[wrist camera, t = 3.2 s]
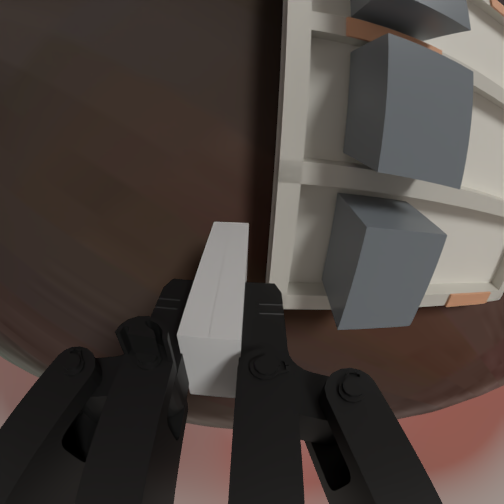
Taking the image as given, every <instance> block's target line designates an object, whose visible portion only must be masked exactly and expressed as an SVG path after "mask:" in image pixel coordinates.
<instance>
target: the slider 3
mask: <svg viewBox="0 0 504 504" xmlns="http://www.w3.org/2000/svg"><path fill="white" fill-rule="evenodd" d="M446 238H447V234H446V233H444V232H443V231H442V230H441V229H440V228H439V227H437V226H436V225H435V224H434V223H433V222H431V221H430V220H429V219H428V218H427V217H425V216H424V215H423V214H422V213H420V212H419V211H418V210H417V209H415V208H414V207H413V206H411V205H410V204H409V203H407V202H406V201H400V200H394V199H386V198H379V197H371V196H363V195H355V194H346V193H337V199H336V205H335V211H334V217H333V223H332V229H331V234H330V239H329V245H328V250H327V255H326V260H325V265H324V270H323V274H322V282H323V285H324V288H325V291H326V294H327V297H328V300H329V304H330V307H331V310H332V313H333V316H334V320H335V323H336V326H337V330H343V329H368V328H386V327H400V326H410V324H411V322H412V320H413V318H414V316H415V314H416V312H417V310H418V308H419V306H420V304H421V301H422V299H423V297H424V295H425V293H426V290H427V288H428V286H429V283H430V281H431V278H432V276H433V273H434V271H435V268H436V266H437V263H438V261H439V258H440V255H441V252H442V250H443V247H444V244H445V241H446Z"/></svg>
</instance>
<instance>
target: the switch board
mask: <svg viewBox="0 0 504 504" xmlns="http://www.w3.org/2000/svg"><path fill="white" fill-rule="evenodd" d="M466 2H467V7H468V13H469V20H470V27H471V30H470V31H465V32H459V33H454V34H450V35H445V36H441V37H437V38H433V39H429V40H425V41H421V40H418V39H416V38H414V37H411V36H409V35H406V34H403V33H401V32H398V31H395V30H392V29H389V28H387V27H383V26H380V25H377V24H374V23H371V22H367V21H363V20H360V19H356V18H352V17H351V6H350V0H283V16H282V40H281V62H280V82H279V100H278V117H277V134H276V149H275V164H274V179H273V193H272V206H271V220H270V232H269V245H268V257H267V269H266V283H275V285H276V286H277V287H278V289H279V290H280V291H281V293H282V301H283V309H312V310H331V307H330V304H329V300H328V297H327V294H326V291H325V288H324V285H323V282H322V274H323V270H324V265H325V260H326V255H327V250H328V245H329V239H330V234H331V229H332V223H333V217H334V211H335V205H336V199H337V193H346V194H355V195H363V196H371V197H379V198H386V199H394V200H400V201H406V202H407V203H409V204H410V205H411V206H413V207H414V208H415V209H417V210H418V211H419V212H420V213H422V214H423V215H424V216H425V217H427V218H428V219H429V220H430V221H431V222H433V223H434V224H435V225H436V226H437V227H439V228H440V229H441V230H442V231H443V232H444V233H446V234H447V238H446V241H445V244H444V247H443V250H442V252H441V255H440V258H439V261H438V263H437V266H436V268H435V271H434V273H433V276H432V278H431V281H430V283H429V286H428V288H427V290H426V293H425V295H424V297H423V299H422V301H421V304H420V306H419V307H428V306H442V305H445V306H446V307H453V306H464V305H474V304H483V303H486V302H487V301H494V300H500V298H501V296H502V294H503V292H504V6H503V5H502V4H501V3H500V2H498V1H497V0H466ZM387 33H390V34H393V35H396V36H399V37H401V38H404V39H407V40H409V41H412V42H414V43H417V44H419V45H422V46H424V47H426V48H428V49H431V50H433V51H435V52H437V53H439V54H441V55H443V56H445V57H447V58H449V59H451V60H453V61H455V62H457V63H459V64H461V65H463V66H464V67H466V68H468V69H470V70H471V71H473V107H472V120H471V129H470V138H469V145H468V151H467V158H466V163H465V169H464V174H463V179H462V183H461V188H460V189H456V188H452V187H448V186H444V185H440V184H435V183H431V182H426V181H422V180H417V179H412V178H407V177H402V176H397V175H391V174H385V173H379V172H376V171H375V170H373V169H371V168H370V167H368V166H366V165H365V164H363V163H361V162H359V161H358V160H356V159H354V158H352V157H350V156H349V155H347V154H345V153H343V147H344V138H345V129H346V118H347V107H348V93H349V76H350V52H352V51H353V50H355V49H357V48H359V47H361V46H363V45H365V44H367V43H369V42H371V41H373V40H375V39H377V38H379V37H381V36H383V35H385V34H387Z"/></svg>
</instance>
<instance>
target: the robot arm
mask: <svg viewBox="0 0 504 504" xmlns="http://www.w3.org/2000/svg"><path fill="white" fill-rule="evenodd" d="M248 234H249V223H234V222H214V224H213V227H212V229H211V232H210V235H209V238H208V241H207V243H206V246H205V249H204V252H203V255H202V258H201V261H200V264H199V267H198V270H197V273H196V276H195V279H194V280H182V279H173V280H172V281H170V282H169V283H168V284H167V285H166V286H165V287H164V288H163V290H162V292H161V295H160V297H159V299H158V301H157V304H156V307H155V308H154V310H153V313H152V315H151V317H149V316H138V317H135V318H132V319H128V320H127V321H125V322H124V323H122V324H121V325H120V326H119V327H118V329H117V330H116V331H115V333H116V335H117V338H118V340H119V343H120V345H121V347H122V350H123V352H124V355H121V356H116V357H106V358H95V357H94V355H93V353H92V352H91V351H89V350H88V349H87V348H83V347H71V348H69V349H66V350H64V351H63V352H62V353H61V354H60V355H58V357H57V358H56V359H55V360H54V361H53V362H52V363H51V365H50V366H49V367H48V368H47V369H46V371H45V372H44V373H43V374H42V375H41V376H40V378H39V379H38V380H37V381H36V383H35V384H34V385H33V386H32V388H31V389H30V390H29V391H28V393H27V394H26V395H25V396H24V398H23V399H22V400H21V402H20V403H19V404H18V405H17V407H16V408H15V409H14V411H13V412H12V413H11V415H10V416H9V417H8V419H7V420H6V422H5V423H4V425H3V426H2V427H1V429H0V504H173V503H174V495H175V488H176V481H177V474H178V468H179V461H180V455H181V448H182V441H183V436H184V430H185V424H186V418H187V413H188V403H187V400H186V397H187V392H188V387H189V390H190V393H191V394H197V395H206V396H217V397H231V398H235V409H234V423H233V439H232V453H231V469H230V485H229V501H228V504H304V486H303V470H302V455H301V444H300V440H304V441H305V443H306V446H307V448H308V451H309V453H310V456H311V459H312V461H313V464H314V467H315V469H316V472H317V474H318V477H319V479H320V482H321V484H322V487H323V489H324V492H325V494H326V497H327V500H328V502H329V504H442V502H441V500H440V498H439V496H438V494H437V492H436V490H435V488H434V486H433V484H432V482H431V480H430V478H429V476H428V475H427V473H426V471H425V469H424V467H423V465H422V463H421V461H420V460H419V458H418V456H417V454H416V452H415V451H414V449H413V447H412V445H411V443H410V442H409V440H408V438H407V436H406V434H405V433H404V431H403V429H402V427H401V426H400V424H399V422H398V420H397V419H396V417H395V415H394V413H393V412H392V410H391V408H390V407H389V405H388V403H387V402H386V400H385V398H384V396H383V395H382V393H381V391H380V390H379V388H378V386H377V385H376V383H375V382H374V380H373V379H372V378H371V377H370V376H369V375H368V374H366V373H364V372H363V371H361V370H357V369H353V368H346V369H340V370H338V371H336V372H334V373H332V374H331V375H330V377H329V376H324V375H320V374H316V373H312V372H309V371H306V370H304V369H302V368H301V367H299V366H297V365H296V364H295V363H294V362H293V361H292V359H291V357H290V356H289V353H288V348H287V338H286V329H285V319H284V310H283V301H282V293H281V291H280V290H279V289H278V287H277V286H276V285H275V283H252V282H246V281H247V258H248Z"/></svg>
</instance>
